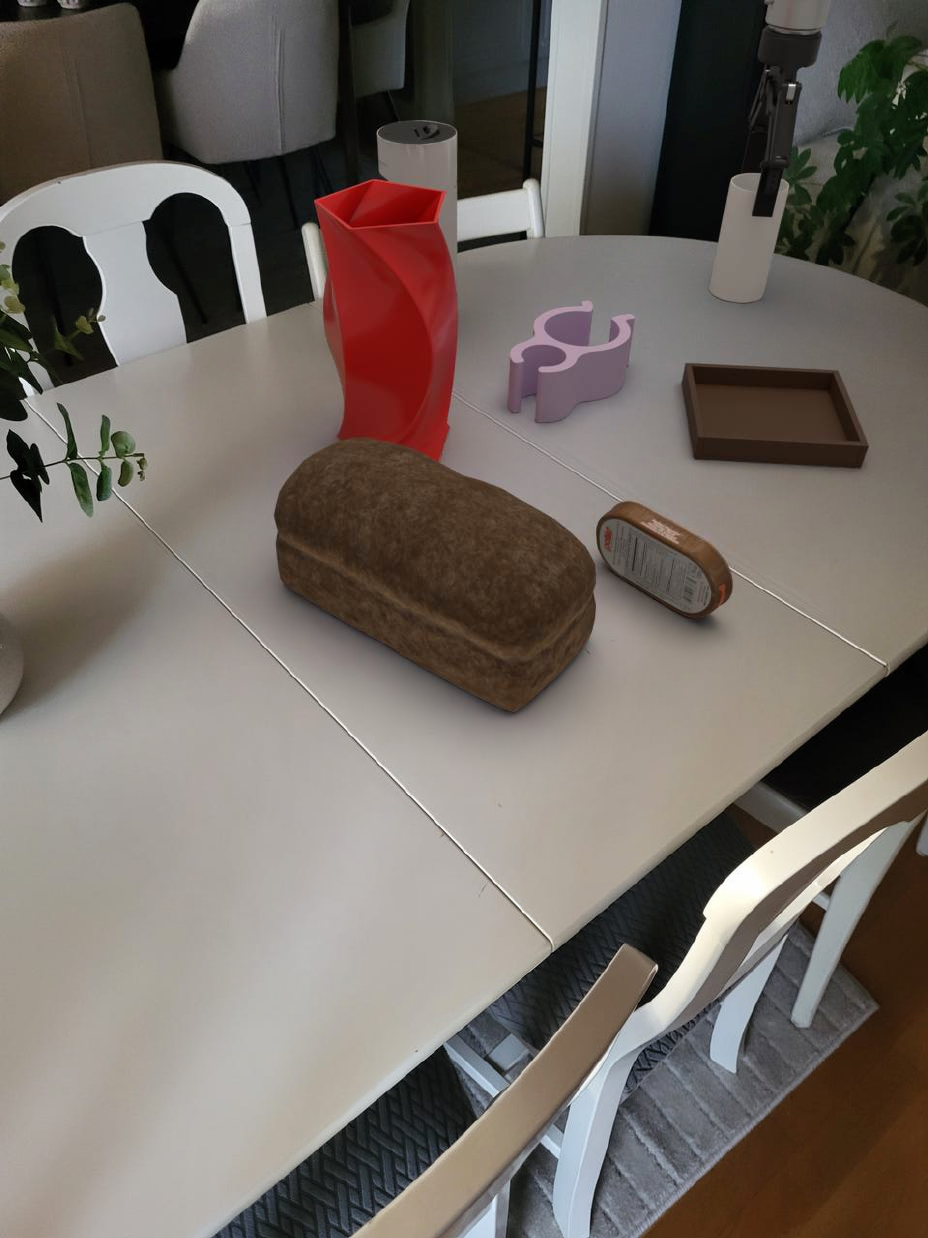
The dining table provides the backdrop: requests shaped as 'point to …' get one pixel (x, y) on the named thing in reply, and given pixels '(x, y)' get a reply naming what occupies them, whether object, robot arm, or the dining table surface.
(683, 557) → the tin
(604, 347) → the clip
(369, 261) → the vase
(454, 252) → the speaker
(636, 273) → the dining table surface
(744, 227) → the cup
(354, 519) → the bread
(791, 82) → the robot arm
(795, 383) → the tray
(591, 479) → the dining table surface
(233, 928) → the dining table surface
